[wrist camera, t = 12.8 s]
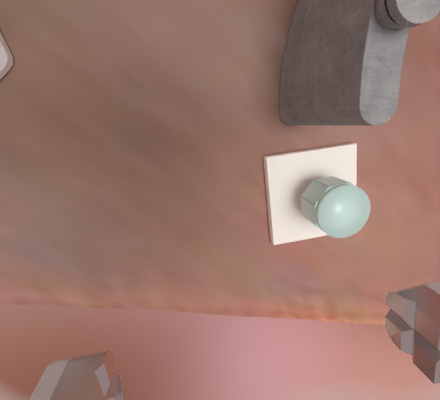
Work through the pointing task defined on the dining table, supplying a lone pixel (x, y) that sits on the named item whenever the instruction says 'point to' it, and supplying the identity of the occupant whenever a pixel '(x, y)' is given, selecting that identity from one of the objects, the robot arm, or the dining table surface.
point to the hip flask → (347, 60)
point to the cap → (335, 206)
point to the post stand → (301, 186)
